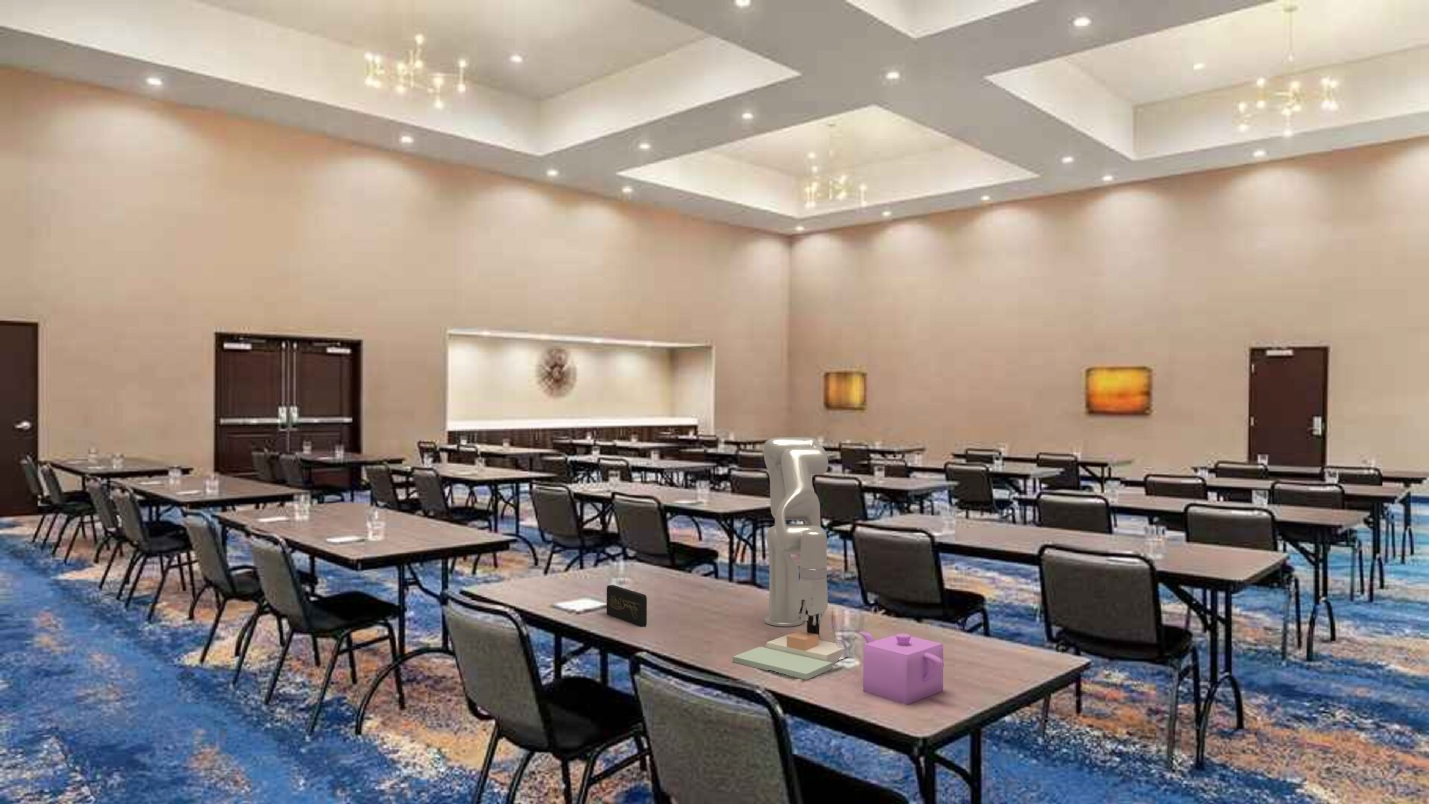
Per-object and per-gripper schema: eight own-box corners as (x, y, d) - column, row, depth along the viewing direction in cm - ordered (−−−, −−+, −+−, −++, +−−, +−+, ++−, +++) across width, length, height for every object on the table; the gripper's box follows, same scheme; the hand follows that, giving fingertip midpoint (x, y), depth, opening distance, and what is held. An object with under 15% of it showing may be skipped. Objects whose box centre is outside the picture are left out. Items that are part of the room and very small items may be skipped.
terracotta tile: (800, 641, 248) (800, 631, 248) (818, 645, 245) (818, 634, 245) (786, 646, 243) (786, 636, 243) (804, 650, 239) (805, 639, 239)
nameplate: (646, 626, 277) (646, 595, 277) (641, 627, 276) (641, 596, 276) (611, 614, 293) (611, 584, 293) (606, 614, 292) (606, 585, 292)
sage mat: (760, 651, 249) (760, 646, 249) (832, 668, 233) (832, 662, 233) (732, 662, 239) (732, 656, 239) (806, 679, 224) (806, 674, 224)
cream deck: (790, 644, 257) (790, 633, 257) (849, 656, 244) (849, 646, 244) (766, 652, 248) (766, 642, 248) (826, 666, 235) (826, 655, 235)
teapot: (877, 672, 231) (877, 619, 231) (960, 696, 212) (960, 638, 212) (840, 684, 220) (840, 629, 220) (924, 710, 202) (924, 650, 202)
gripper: (816, 568, 256) (815, 630, 256) (787, 575, 245) (787, 641, 244) (838, 571, 252) (838, 635, 251) (810, 579, 240) (810, 646, 240)
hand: (813, 637), depth 248 cm, fingers closed
